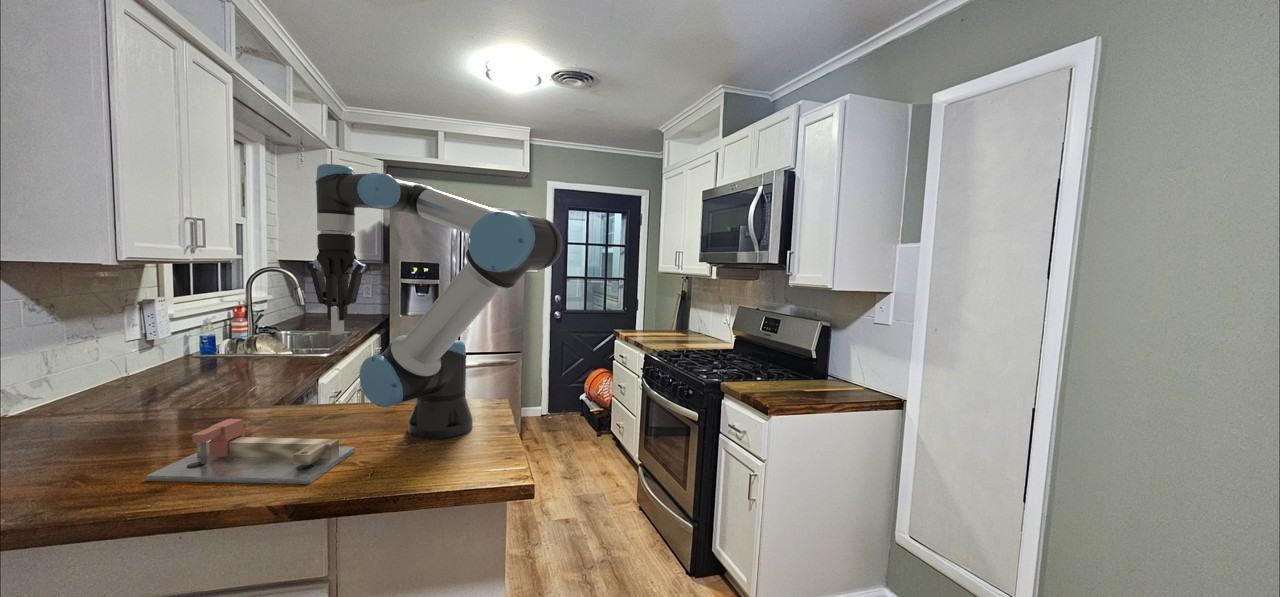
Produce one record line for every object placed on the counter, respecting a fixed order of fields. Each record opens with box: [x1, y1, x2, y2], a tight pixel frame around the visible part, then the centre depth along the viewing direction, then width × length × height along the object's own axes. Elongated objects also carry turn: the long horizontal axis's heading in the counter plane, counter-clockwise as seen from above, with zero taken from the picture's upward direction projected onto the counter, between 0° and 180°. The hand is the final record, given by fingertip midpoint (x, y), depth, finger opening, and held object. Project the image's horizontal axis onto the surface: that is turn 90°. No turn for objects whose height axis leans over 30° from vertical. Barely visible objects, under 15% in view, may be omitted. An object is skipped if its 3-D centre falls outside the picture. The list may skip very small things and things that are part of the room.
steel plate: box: [145, 446, 356, 485], centre depth 102 cm, size 30×16×1 cm, turn 92°
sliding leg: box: [192, 418, 246, 464], centre depth 103 cm, size 3×10×6 cm, turn 2°
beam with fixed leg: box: [196, 436, 340, 468], centre depth 103 cm, size 27×8×3 cm, turn 92°
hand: (337, 333), depth 119 cm, fingers closed
